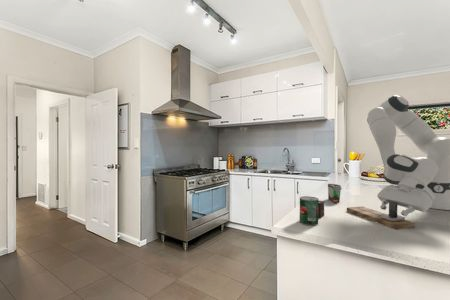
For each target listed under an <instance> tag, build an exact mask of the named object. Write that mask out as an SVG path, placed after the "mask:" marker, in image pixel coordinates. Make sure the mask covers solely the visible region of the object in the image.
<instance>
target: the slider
mask: <svg viewBox="0 0 450 300" xmlns="http://www.w3.org/2000/svg"><path fill="white" fill-rule="evenodd" d="M398 206H399V205H398V203H396V202H389V203H388V214H387V213H385V214H386V215H381V218H384V219H387V220H390V221H401V220H406V216H403V215H400V214H399V215H398Z"/></svg>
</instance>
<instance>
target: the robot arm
mask: <svg viewBox="0 0 450 300" xmlns="http://www.w3.org/2000/svg"><path fill="white" fill-rule="evenodd" d="M409 107H410V105H409V101H408V100H407V99H406V98H405V97H404V96H402V95H398V94H395V95H392V96H390V97H388V99H386V100H385V101H383V102H382V103H381V104H379V105H378V106H377V107H374V108H372V109H370V111H369V112H367V120H366V121H367V124H368V128H369V130H370V132H371V134H372V136H373V140H374V141H375V143H376V146H377V148H378V150H379V153H380V157H381V159H382V163H383V167H384V169H383V175H382V177H383V179H384V180H385V182H387V183H388V184H390V185H386V186H384V188H382V189H381V190H380V191H379V192H378V193H377V198H378V199H379V200H380V201H381V204H380V210H384V211H386V210H387V208H388V207H387V206H386V205H389V202H396V203H398V205H397V206H400V207H403V208H406V209H402V211H401V212H400V215H401V216H403V217H407V216H409V214H411V213H414V212H415V211H418V212H427V211H429V209H433V210H434V209H435V210H446V211H450V138H449V137H444V136H443V137H442V136H441V137H439V136H438V135H437V134H436V133H435V132H434V130H433V129H432V128H431V126H430V125H429V124H428V123H427V122H426V121H424V119H422V118H421V117H420V116H419V115H417V114H416V113H415V112H413V111H412V110H411V109H409ZM397 129H399V131H401V132H402V133H403V134H404V135H405V136H407V138H409V139H410V140H411V142H413V144H414V145H415V146H416V147H417V148H418V150H420V151H421V152H422V154H423V155H425V156H426V157H424V156H422V157H412V156H407V155H405V154H402V153H396V151H395V142H396V137H397Z"/></svg>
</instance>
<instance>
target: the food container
mask: <svg viewBox="0 0 450 300" xmlns="http://www.w3.org/2000/svg"><path fill="white" fill-rule="evenodd" d="M342 190H343V188H342V185H340V184H335V183H328V184H327V196H328V197H327V199H328V200H329V201H330V202H331V203H332V204H339V203H340V202H341V201H340V199H341V191H342Z"/></svg>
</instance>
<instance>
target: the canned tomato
mask: <svg viewBox="0 0 450 300" xmlns="http://www.w3.org/2000/svg"><path fill="white" fill-rule="evenodd" d="M318 200H320V199H319V198H318V197H315V196H309V195H308V196H307V195H306V196H299V223H300V224H302V225H303V226H310V227H313V226H318V225H319V218H318Z"/></svg>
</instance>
